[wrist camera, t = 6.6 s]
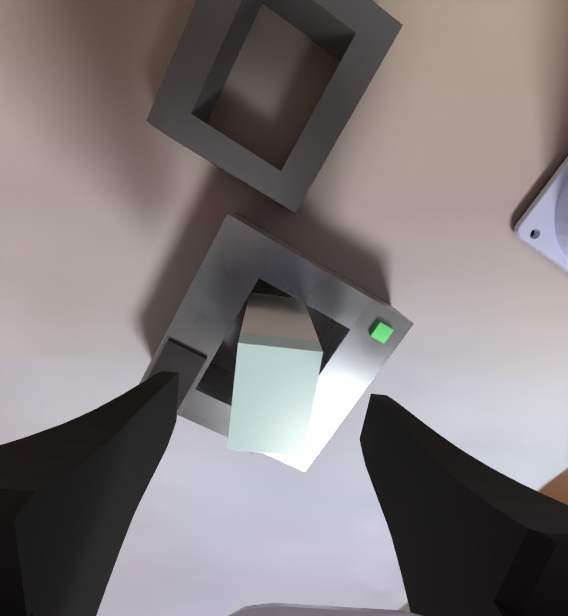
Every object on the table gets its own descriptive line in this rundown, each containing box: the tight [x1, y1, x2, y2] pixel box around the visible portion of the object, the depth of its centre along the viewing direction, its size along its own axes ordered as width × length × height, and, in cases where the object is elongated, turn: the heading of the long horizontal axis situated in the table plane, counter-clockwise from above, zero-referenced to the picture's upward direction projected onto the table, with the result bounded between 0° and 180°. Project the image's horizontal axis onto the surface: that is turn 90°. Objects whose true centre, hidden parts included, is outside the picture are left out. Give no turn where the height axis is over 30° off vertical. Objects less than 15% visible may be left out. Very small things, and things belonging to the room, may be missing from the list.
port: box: [139, 213, 413, 472], centre depth 17 cm, size 10×10×3 cm
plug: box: [227, 293, 323, 456], centre depth 15 cm, size 3×4×7 cm, turn 172°
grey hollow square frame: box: [147, 0, 403, 213], centre depth 14 cm, size 7×8×2 cm
